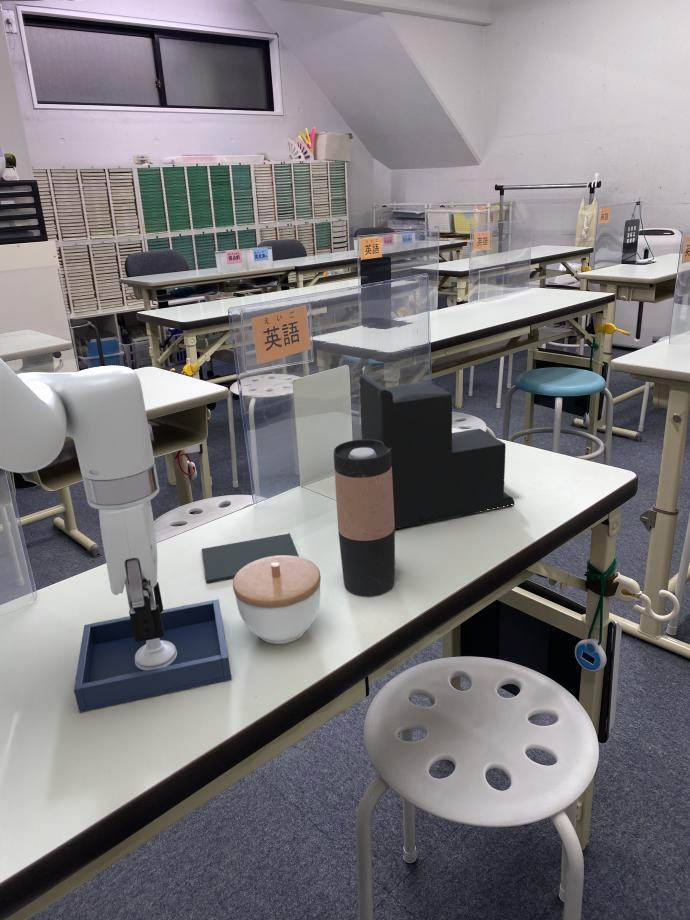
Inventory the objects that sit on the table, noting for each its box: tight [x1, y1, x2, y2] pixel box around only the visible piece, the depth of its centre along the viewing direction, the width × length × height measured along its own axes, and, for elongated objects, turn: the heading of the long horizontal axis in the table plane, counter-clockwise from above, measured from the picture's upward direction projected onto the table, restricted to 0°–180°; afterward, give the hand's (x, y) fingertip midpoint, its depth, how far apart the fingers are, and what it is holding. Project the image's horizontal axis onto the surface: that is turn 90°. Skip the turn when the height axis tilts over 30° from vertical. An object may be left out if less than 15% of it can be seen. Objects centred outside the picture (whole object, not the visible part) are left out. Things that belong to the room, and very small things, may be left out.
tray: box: [73, 598, 233, 714], centre depth 81 cm, size 17×13×3 cm
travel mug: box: [333, 439, 396, 597], centre depth 92 cm, size 8×8×20 cm
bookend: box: [358, 373, 515, 530], centre depth 112 cm, size 23×11×24 cm, turn 108°
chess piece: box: [135, 590, 177, 671], centre depth 80 cm, size 5×5×10 cm
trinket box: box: [232, 555, 322, 645], centre depth 85 cm, size 11×11×9 cm
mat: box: [201, 533, 300, 584], centre depth 104 cm, size 14×10×1 cm
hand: (149, 624), depth 80 cm, fingers open, 4 cm apart
